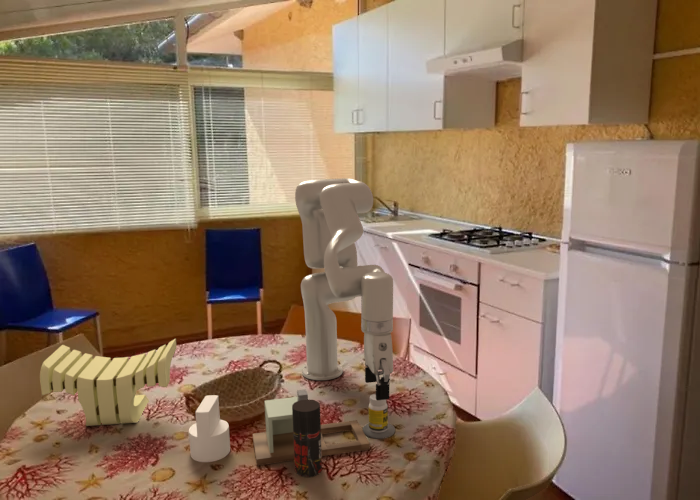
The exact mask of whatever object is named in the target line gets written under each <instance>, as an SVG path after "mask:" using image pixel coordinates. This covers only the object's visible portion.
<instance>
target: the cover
mask: <svg viewBox="0 0 700 500" xmlns="http://www.w3.org/2000/svg"><path fill="white" fill-rule="evenodd" d="M296 393H297V395H296V396H292V397H285V398H284V397H283V398H275V399H267V400H264V419H265V420H264V421H265V432H266V436H267V441H268V446H269V451H270V453H274V451H273V435H276V434H284V433H291V432H293V415H292V405H293V404H294V403H295V402H297V401H300V400H309V394H308V392H307V389H297V391H296Z"/></svg>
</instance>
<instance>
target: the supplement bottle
mask: <svg viewBox="0 0 700 500" xmlns="http://www.w3.org/2000/svg"><path fill="white" fill-rule="evenodd" d="M388 407H389V406H388V403H387V399H386V400H376V393H373V394H370V396H369V404H368V423H369V429H370V431H372V432H375V433H381V432H385V431H386V430H387V429H388V423H389V416H388V415H389V411H388V409H389V408H388Z"/></svg>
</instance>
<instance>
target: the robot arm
mask: <svg viewBox="0 0 700 500" xmlns="http://www.w3.org/2000/svg"><path fill="white" fill-rule="evenodd" d="M294 193H295V194H294V196H295V197H294V200H295V205H296V209H297V211H298V214H299V218H300V221H301V224H302V240H303V241H302V242H303V256H304V261H305V265H306V266H307V267H308V268H310V269H317V270H318V269H324V271H322V272H315V273H311V274H308V275H306V276H304V277H303V278H302V280H301V283H300V293H301V297H302V301H303V302H302V303H303V309H304V323H305V347H306V349H305V353H306V365H305V366H303V367H302V370H301V375H302V376H303V377H304V378H306V379H309V380H312V381H328V380H333V379H336V378H338V377H340V376H341V375H342V374H343V372H344V371H343V370H344V369H343V367H342V365H341V364H339V363H338V362H339V361H338V335H337V334H338V333H337V329H338V326H337V324H338V323H337V317H336V314H335V312H334V311H333V310H332V309H331V308H330V307H329V305H330V304H333V303H334V304H336V303H341V302H343V303H344V302H349V301H353V300H355V298H357V297H358V298H359V297H361V300H360V301H361V303H360V304H361V306H360V308H361V313H360V314H361V315H360V317H361V321H360V322H361V325H360V327H361V328H360V329H361V332H362V333H364V334H363V335H364V336H363V356H364V357H363V358H364V366H365V367H364V382H365V383H367V384H368V383H369V384H370V383H376V384H375V394H376V400H386V401H387V400H389V399H390V383H391V382H390V381H391V378H390V376H391V374H393V372H394V356H393V355H394V354H393V351H394V350H393V340H392V334H391V333H393V331H394V327H393V325H394V320H393V319H394V278H393V276H392V275H391V274H389V273H387V272H385V270H384V269H383V268H382V267H381V266H380V265H378V264H367V265H366V264H365V265H358V251H357V250H358V249H357V246H356V242H357V241H358V240H360V239H361V238H362V237H363V234H364V227H363V224H362V222H361V219H360V217H359V214H366V213H368V212H370V211H371V210H372V208H373V205H374V196H373V193H372V189H371V188H370V187H369V185H367V184H366V183H365V182H364V181H360V180H356V179H354V178H349V177H347V178H345V177H343V178H321V179H319V178H318V179H317V178H316V179H308V180H305V181H301V182H300V183H299V184H297V186H296V188H295V192H294ZM380 376H381V377H380Z"/></svg>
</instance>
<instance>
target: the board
mask: <svg viewBox="0 0 700 500" xmlns="http://www.w3.org/2000/svg"><path fill="white" fill-rule="evenodd" d="M348 431H351V432H352V434H353V436H354V438H355V440H354V441H353V440H352V441H346V442H345V441H344V442H339V443H338V442H337V443H331V444H326V442H325V440H324V437H323V435H326V434H334V433H341V432H348ZM367 437H368V436H366V435H365V434H364V432H363V427H361V425H360V423H359V421H358V420H357V419H355V420H348V421H346V420H345V421H341V422H339V421H338V422H333V423H325V424H321V451H322V457H326V456H333V455H341V454H347V453H354V452H359V451H360V452H361V451H369V450H371V449H370V448H371V443H370V441H369V438H367ZM252 442H253V448H254V454H255V455H254V456H255V460H256V466H257V467H258V466H265V465H271V464H277V463H283V462H284V463H286V462H290V461H292V462H293V461H294V438H293V432H291V433H284V434H276V435H273V451H274V453H270V451H269V446H268V441H267V436H266V431H263V432H256V433H252Z"/></svg>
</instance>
